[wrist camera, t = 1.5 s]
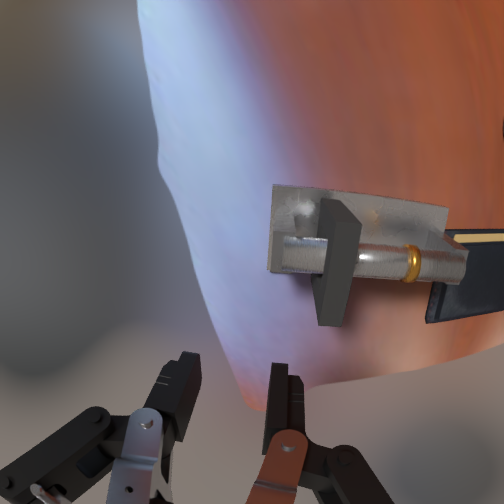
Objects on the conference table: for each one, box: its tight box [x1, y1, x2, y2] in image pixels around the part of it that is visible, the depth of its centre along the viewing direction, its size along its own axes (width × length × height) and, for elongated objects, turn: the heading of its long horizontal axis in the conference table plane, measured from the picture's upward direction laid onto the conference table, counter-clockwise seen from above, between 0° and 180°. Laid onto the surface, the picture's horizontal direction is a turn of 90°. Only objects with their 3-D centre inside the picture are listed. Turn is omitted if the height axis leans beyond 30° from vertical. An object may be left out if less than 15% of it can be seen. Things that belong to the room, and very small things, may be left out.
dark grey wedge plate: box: [311, 198, 362, 327], centre depth 26 cm, size 2×9×9 cm, turn 177°
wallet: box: [425, 229, 504, 324], centre depth 32 cm, size 20×2×15 cm
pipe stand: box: [267, 184, 469, 285], centre depth 28 cm, size 22×10×10 cm, turn 87°
